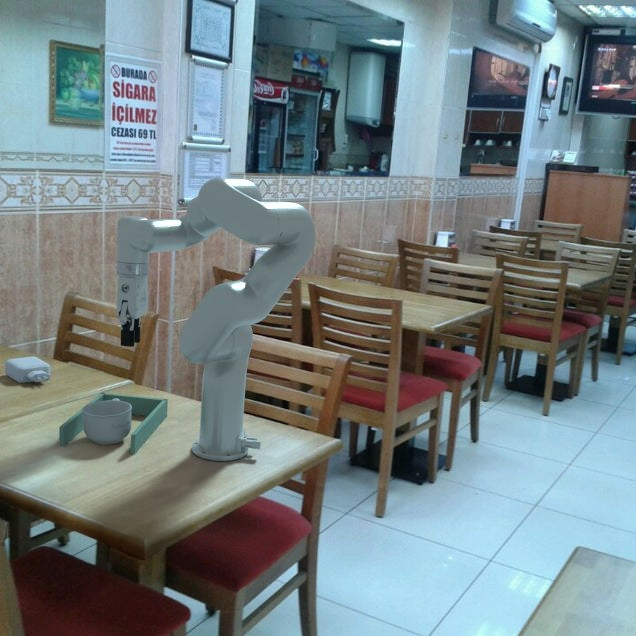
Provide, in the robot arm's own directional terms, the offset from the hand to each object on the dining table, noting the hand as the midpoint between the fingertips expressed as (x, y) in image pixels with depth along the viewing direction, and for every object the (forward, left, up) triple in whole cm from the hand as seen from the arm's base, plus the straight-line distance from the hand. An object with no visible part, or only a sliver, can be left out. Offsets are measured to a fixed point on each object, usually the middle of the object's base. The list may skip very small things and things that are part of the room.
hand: (130, 343), depth 181 cm
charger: (+35, -22, -20) cm, 46 cm away
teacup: (0, +13, -20) cm, 23 cm away
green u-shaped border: (0, +8, -19) cm, 21 cm away
